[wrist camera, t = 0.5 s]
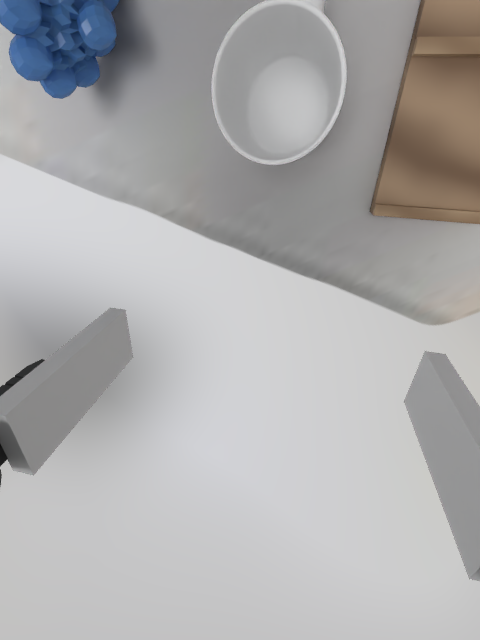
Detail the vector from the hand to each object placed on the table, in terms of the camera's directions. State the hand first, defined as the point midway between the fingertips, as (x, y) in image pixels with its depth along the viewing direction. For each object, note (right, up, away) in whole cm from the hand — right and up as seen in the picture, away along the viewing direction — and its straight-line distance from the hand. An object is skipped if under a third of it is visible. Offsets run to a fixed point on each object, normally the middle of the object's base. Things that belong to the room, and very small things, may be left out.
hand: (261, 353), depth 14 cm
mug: (+4, +23, +14) cm, 27 cm away
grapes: (-12, +28, +15) cm, 34 cm away
